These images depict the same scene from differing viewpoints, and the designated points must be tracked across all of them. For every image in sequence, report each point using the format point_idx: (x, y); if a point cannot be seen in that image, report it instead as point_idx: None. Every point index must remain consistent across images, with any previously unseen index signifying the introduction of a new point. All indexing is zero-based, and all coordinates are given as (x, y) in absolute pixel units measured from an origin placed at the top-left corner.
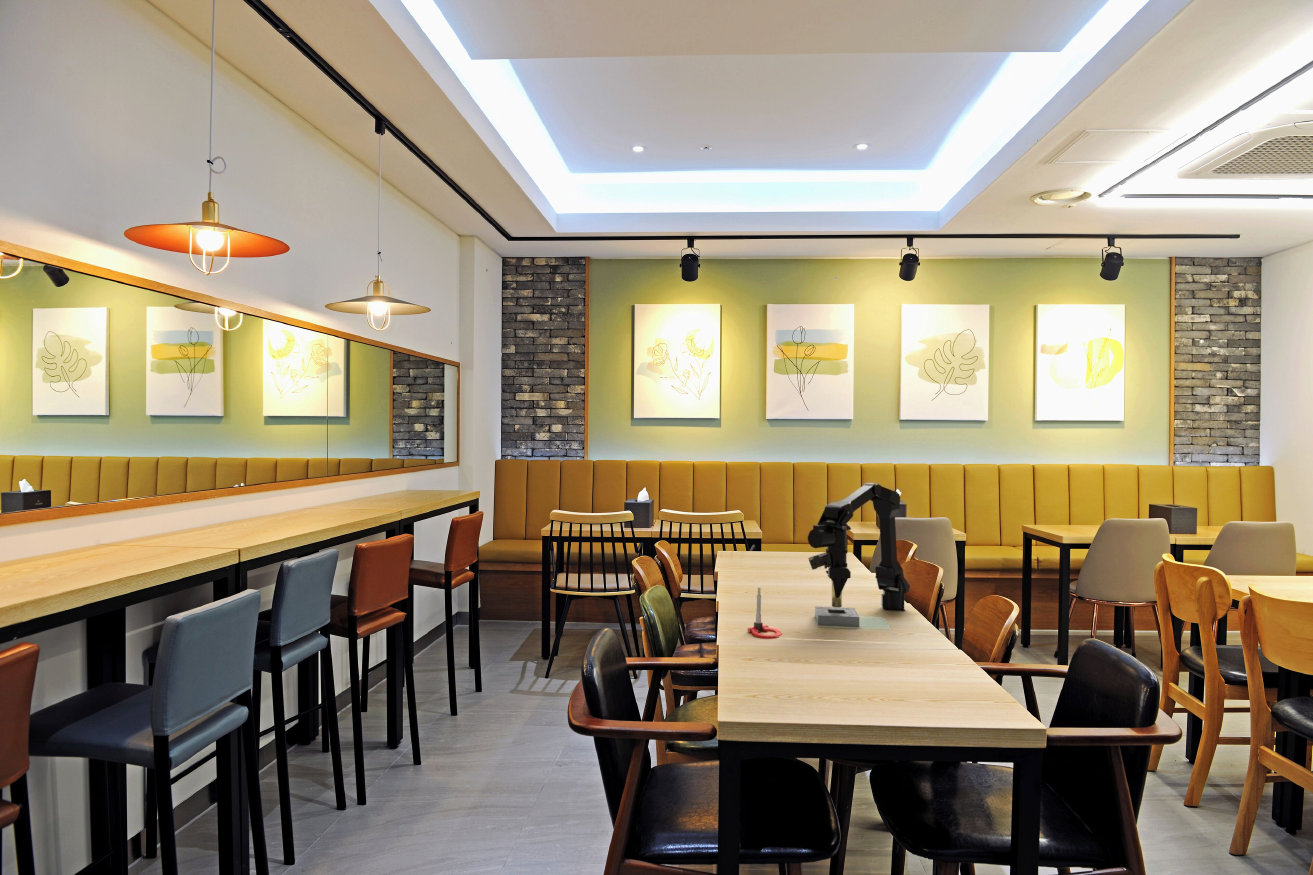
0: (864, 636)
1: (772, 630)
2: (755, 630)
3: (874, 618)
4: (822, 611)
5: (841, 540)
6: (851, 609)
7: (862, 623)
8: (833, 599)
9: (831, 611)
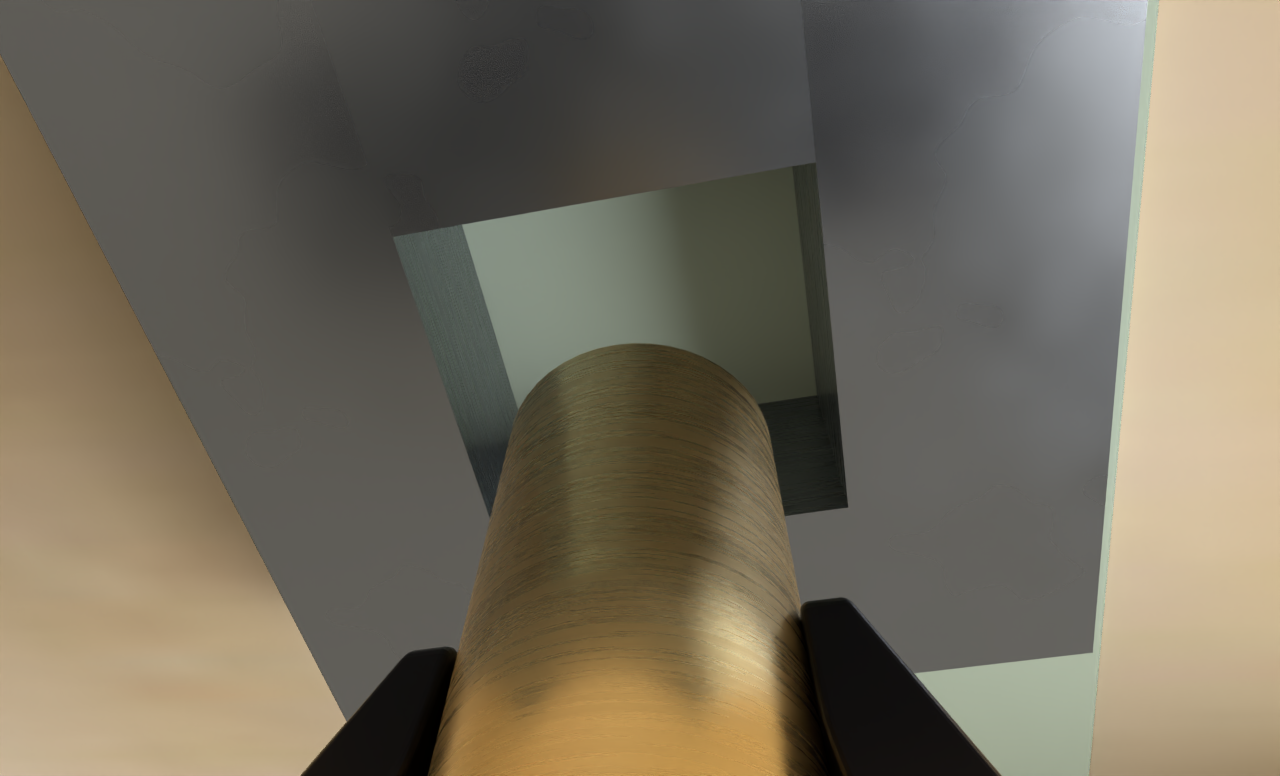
0: (3, 657)
1: None
2: None
3: (1003, 745)
4: (506, 53)
5: None
6: (932, 617)
7: None
8: (501, 521)
9: (818, 239)
